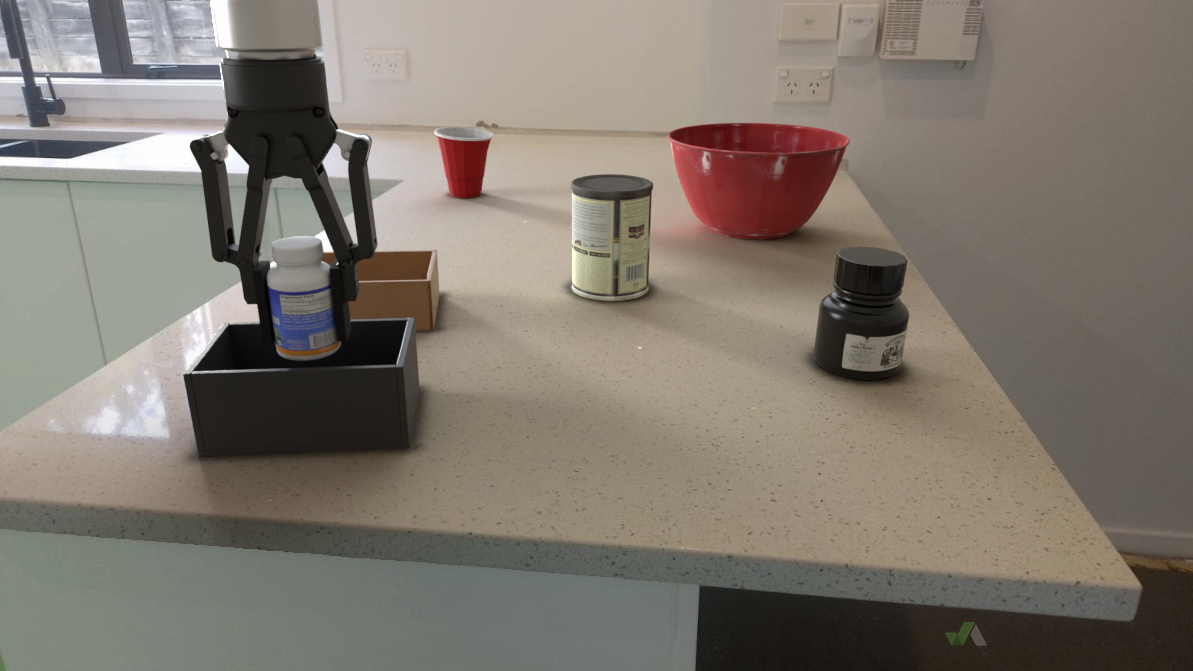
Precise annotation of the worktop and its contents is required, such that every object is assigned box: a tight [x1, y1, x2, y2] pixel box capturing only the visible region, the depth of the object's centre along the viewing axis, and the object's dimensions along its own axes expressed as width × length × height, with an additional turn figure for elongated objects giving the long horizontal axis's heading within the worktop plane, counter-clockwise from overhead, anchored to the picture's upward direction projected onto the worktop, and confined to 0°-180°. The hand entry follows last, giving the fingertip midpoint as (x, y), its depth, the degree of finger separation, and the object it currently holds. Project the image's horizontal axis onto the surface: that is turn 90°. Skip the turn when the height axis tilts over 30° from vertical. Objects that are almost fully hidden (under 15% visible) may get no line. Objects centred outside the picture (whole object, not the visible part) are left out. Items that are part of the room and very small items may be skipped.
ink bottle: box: [813, 245, 910, 381], centre depth 87 cm, size 10×9×12 cm
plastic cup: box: [433, 126, 495, 199], centre depth 156 cm, size 11×11×12 cm
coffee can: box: [570, 173, 654, 302], centre depth 108 cm, size 10×10×14 cm
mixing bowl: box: [667, 122, 851, 241], centre depth 136 cm, size 28×28×16 cm
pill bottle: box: [267, 235, 341, 361], centre depth 71 cm, size 5×5×10 cm
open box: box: [182, 318, 421, 458], centre depth 74 cm, size 17×11×8 cm, turn 97°
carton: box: [321, 249, 440, 332], centre depth 99 cm, size 18×12×6 cm, turn 97°
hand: (308, 336), depth 72 cm, fingers closed on pill bottle, 5 cm apart
